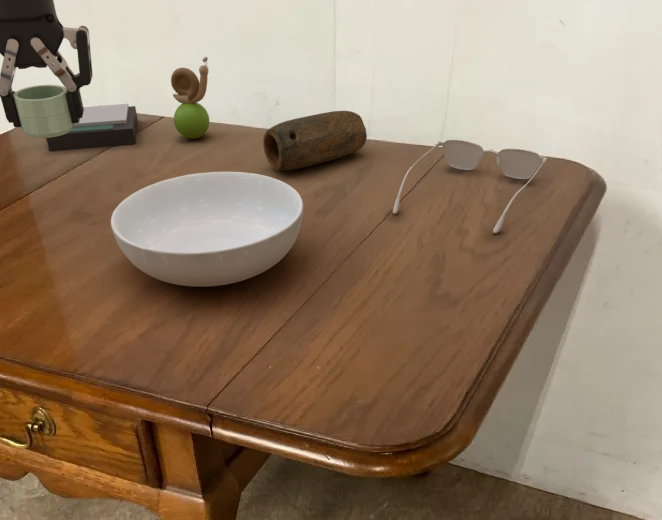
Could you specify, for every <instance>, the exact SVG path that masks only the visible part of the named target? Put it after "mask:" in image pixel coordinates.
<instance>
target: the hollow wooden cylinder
mask: <svg viewBox="0 0 662 520" xmlns="http://www.w3.org/2000/svg"><path fill="white" fill-rule="evenodd" d="M367 136H368V135H367V128H366V126H365V124H364V120H363V118H362V116H361V115H360V114H358V113H356V112H354V111H350V110H335V111H334V110H333V111H327V112H322V113H321V112H320V113H317V114H312V115H307V116H301V117H296V118H293V119H288V120H285V121H282V122H280V123H277V124H275V125H273V126H271V127H270V128H268V129H267V130H266V131H265V133H264V135H263V137H262V138H263V139H262V140H263V141H262V143H263V144H262V145H263V151H264V154H265V157H266V159H267V161H268V163H269V164H271V166H273V168H274V169H275V170H277V171H279V172H286V171H287V172H288V171H295V170H300V169H304V168H309V167H312V166H314V165H320V164H323V163H327V162H330V161H334V160H337V159H340V158H343V157H345V156H348V155H350V154H352V153H353V154H354V153H355V152H357V151H359V150H360V149H362V147H364V146H365V144H366V142H367V138H368V137H367Z"/></svg>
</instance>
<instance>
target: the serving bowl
mask: <svg viewBox="0 0 662 520" xmlns="http://www.w3.org/2000/svg"><path fill="white" fill-rule="evenodd" d="M303 215H304V201H303V198H302V196H301V195H300V193H299V192H298V191H297V190H296V189H295V188H294V187H293V186H291V185H289V184H288V183H287V182H284V181H282V180H279V179H276V178H275V177H271V176H269V175H263V174H259V173H253V172H252V173H251V172H245V171H208V172H199V173H190V174H185V175H180V176H176V177H170V178H166V179H164V180H161V181H158V182H155V183H152V184H150V185H147V186H145V187H143V188H141V189H138V190H136V191H135V192H132V194H130V195H128V196H127V197H126V198H125V199H123V200H122V201H121V202H120V203H119V204H118V205H117V206H116V207H115V209H114V210H113V212H112V214H111V217H110V227H111V231H112V233H113V237H114V239H115V241H116V243H117V245H118V247H119V249H120V251H121V253H123V255H124V256H125V258H126V259H127V260H128V261H129V262H130V263H131V264H132V265H133V266H134V267H136V268H137V269H138V270H140V272H142V273H144V274H146V275H148V276H150V277H151V278H153V279H156V280H159V281H161V282H164V283H168V284H173V285H176V286H182V287H183V286H184V287H197V288H199V287H202V288H203V287H207V288H208V287H219V286H225V285H231V284H235V283H239V282H243V281H245V280H246V281H247V279H252V278H254V277H257V276H258V275H260V274H262V273H265V272H266V271H268V270H270V269H271V268H273V267H274V266H275V265H277V264H278V263H279V262H281V260H283V259H284V258H285V256H286V255H288V253H289V252H290V251H291V249H292V247H293V246H294V245H295V243H296V242H297V239H298V236H299V234H300V231H301V227H302V222H303Z"/></svg>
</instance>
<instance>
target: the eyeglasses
mask: <svg viewBox="0 0 662 520" xmlns="http://www.w3.org/2000/svg"><path fill="white" fill-rule="evenodd" d="M439 147H442V151H443V154H444V158H445V160H446V162H447V164H448V165H449V166H450V167H452V168H454V169H457V170H461V171H473V170H475V169H476V168H477V166H478V165H479V164H480V163H481V161H482V160H483V158H484V154H485V153H491V154H494V155H497V156H496V157H495V161H496V166H497V167H499V168H500V170H501V172H502V174H503V175H504V176H506V177H507V178H511V179H517V180H527V179H529V180H528V181H527V182H526V183H525V184H524V185H523V186H522V187H520V188H519V190H517V191H516V192H515V194H514V195H513V196H512V198H511V199H510V200H509V202H508V204H507V205H506V206H505V209H503V212H502V214H501V216H500V218H499V219H498V220H497V222H496V224H495V226H494V227H493V230H492V233H493V234H498V233H499V232H500V231H501V230H502V229H503V225H504V221H505V217H506V215H507V213H508V212H509V209H510V207H511V205H512V203H513V202H514V200H515V199H516V197H517V196H518V195H519V194H520V192H521V191H523V190H524V189H525V188H526V187H527V185H528V184H529V183H530V182H531V181H532V180H533V178H534V177H535V176H536V174H537V173H538V172H539V170H540V169H541V167H542V166H544V165H545V163H546V162H547V161H548V158H547V157H544V156H541V155H540V154H539V153H538V152H535V151H532V150H527V149H522V148H502V149H501V150H499V152H498V151H496V150H494V149H492V148H490V149H484V148H483V147H482V145H480V144H479V143H475V142H472V141H469V140H462V139H446V140H445V141H437V142H436V143H435V144H434V147H432V148H431V149H430V150H428V151H427V152H425V154H423V155H422V156H421V157H419V158H418V160H416V161H415V162H414V163H413V165H411V166H410V167H409V169H407V172H406V173H405V175H404V177H403V180H402V182H401V185H400V187H399V189H398V193H397V195H396V199H395V201H394V204H393V208H392V214H393V215H397V214H398V212H399V209H400V199H401V196H402V192H403V188H404V185H405V182H406V181H407V177H408V175H409V173H410V172H411V170H412V169H413V168H414V166H415V165H416V164H417V163H419V162H420V161H421V160H422V158H424V157H425V156H426V155H427V154H429V153H430V152H431V151H432V150H434V149H438V148H439Z"/></svg>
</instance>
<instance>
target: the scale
mask: <svg viewBox="0 0 662 520" xmlns="http://www.w3.org/2000/svg"><path fill="white" fill-rule="evenodd" d="M136 107H137V106H136V105H130V106H129V103H120V104H106V105H92V106H83V108H84V112H83V116H82V118H80V121H79V123H75V124H74V126H73V127H72V130H71V131H70V132H68V133H66V134H64V135H60V136H56V137H50V138H45V139H46V143H47V146H48V151H61V150H62V151H63V150H64V151H65V150H74V149H75V150H76V149H88V148H89V149H90V148H101V147H112V146H126V145H127V146H128V145H135V144H136V141H137V133H138V124H139V119H138V113H137V108H136Z"/></svg>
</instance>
